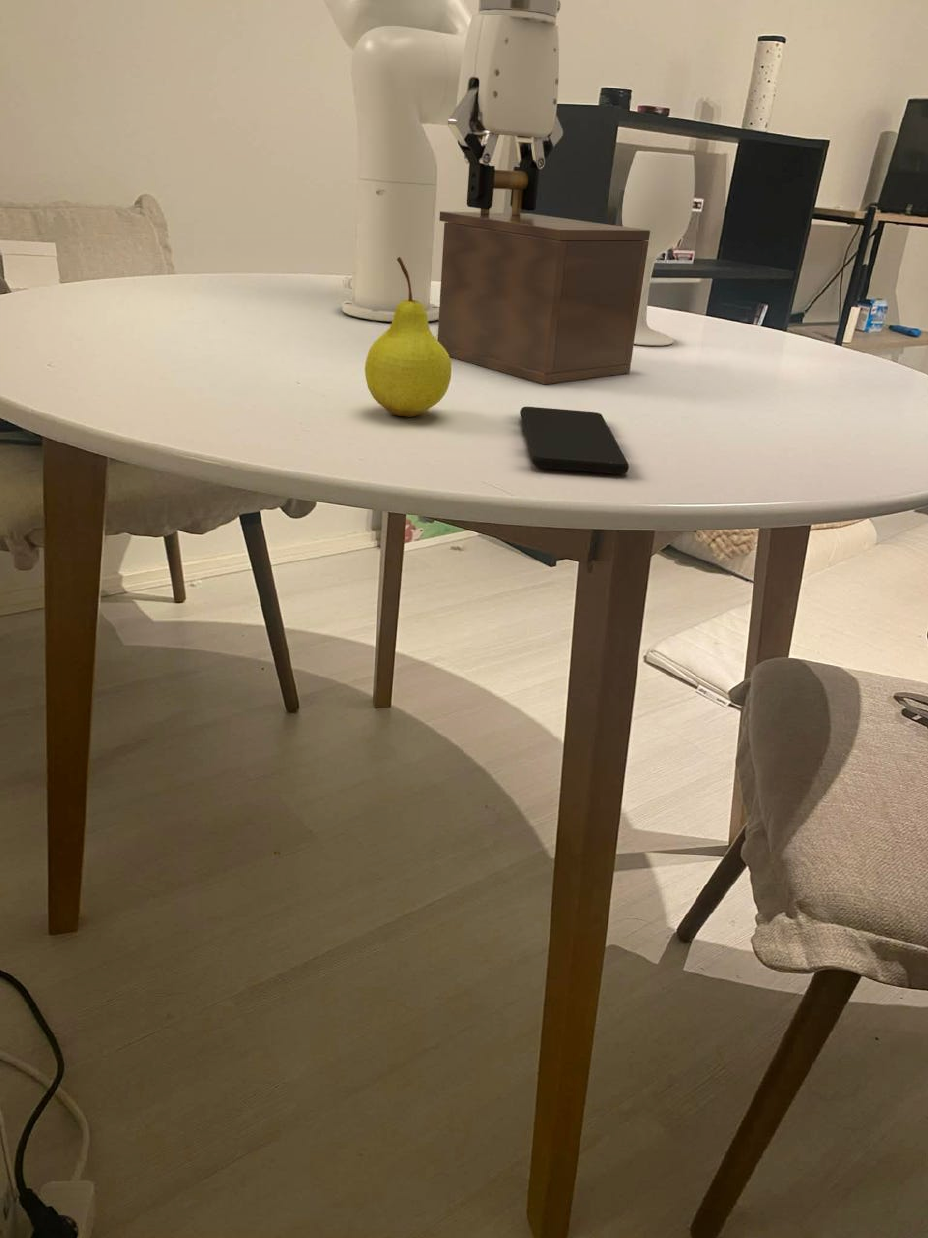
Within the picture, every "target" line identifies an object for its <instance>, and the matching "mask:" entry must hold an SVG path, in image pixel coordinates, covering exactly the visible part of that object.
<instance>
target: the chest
mask: <svg viewBox="0 0 928 1238" xmlns="http://www.w3.org/2000/svg"><path fill="white" fill-rule="evenodd" d="M443 223H444V224H443V237H442V238H443V239H442V255H441V271H440V272H441V273H440V286H439V287H440V289H439V303H438V304H439V305H438V307H439V319H438V322H437V338H436V339H437V340H438V342H439V343H440V344H441V345H442V346H443V347H444V348H445V350H446V351H447V353H448V354H449V357H450V358H453V359H456V360H460V361H463V362H466V363H470V364H474V365H476V366H479V367H483V368H487V369H490V370H493V371H496V372H500V373H503V374H507V375H511V376H514V377H517V378H521V379H524V380H526V381H527V380H528V381H530V382H535V383H537V384H541V385H550V384H551V385H552V384H558V383H565V382H573V381H574V382H575V381H580V380H588V379H594V378H595V379H596V378H603V377H610V376H617V375H618V376H619V375H625V374H630V372H631V364H632V358H633V352H634V346H635V344H634V339H635V332H636V325H637V318H638V312H639V305H640V298H641V291H642V284H643V277H644V270H645V264H646V257H647V250H648V243H649V241H646V240H555V239H548V238H542V237H536V236H530V235H524V234H517V233H511V232H505V231H499V230H493V229H487V228H480V227H474V226H468V225H462V224H456V223H449V222H443Z"/></svg>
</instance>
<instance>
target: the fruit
mask: <svg viewBox="0 0 928 1238" xmlns="http://www.w3.org/2000/svg"><path fill="white" fill-rule="evenodd" d="M397 261H398V262H399V264H400V266H401V268H402V271H403V273H404V275H405V277H406V279H407V282H408V289H409V300H404V301H401V302H400V303H399V304H398V306H397V308H396V310H395V313H394V318H393V321H392V322H391V324H390V326H389V328H387V330H386V331H384V332H383V333H382V334H381V335H380V336H379V337H378V338H377V339H376V340H375V341H374V342H373V343H372V344H371V346H370V347H369V350H368V353H367V357H366V359H365V365H364V366H365V367H364V373H365V374H364V376H365V381H366V384H367V389H368V390H369V392H370V395H371V396H372V398H373V399H374V400H375V401H376V402H377V404H378V405H380V407H382V408H383V409H384V410H385V411H387V412H388V413H390V414H392V415H394V416H397V417H406V418H413V417H416V416H419V415H421V414H422V413H424V412H426V411H427V410H429V409H431V408H433V407H434V406H435V405H437V404H438V403H439V402H440V401H441V400H442V398H443V397H444V396H445V395H446V393H447V390H448V389H449V387H450V383H451V379H452V360H451V357H449V354H448V353H447V351H446V350H445V348H444V347H443V346H442V345H441V344H440V343H439V342H438V340H437V338H436V337H435V336H434V335H433V333H432V332H431V328H430V324H429V321H428V318H427V313H426V311H425V309H424V307H423V305H422V304H421V303H420V302H418V301H416V300H412V292H411V285H410V279H409V275H408V272H407V270H406V268H405V266H404V264H403V262H402V260H401V258H400V257H398V259H397Z"/></svg>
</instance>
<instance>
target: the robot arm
mask: <svg viewBox="0 0 928 1238" xmlns="http://www.w3.org/2000/svg"><path fill="white" fill-rule="evenodd" d="M323 2H324V4H325V6H326V8H327V10H328V13H329V14H330V16H331V18H332V20H333V22H334V25H335V26H336V28H337V30H338V32H339V34H340V36H341V38H342V39H343V41H344V43H345V44H346V45H347V46H348V48H349V49H351V50H352V51H353V52H352V57H351V62H350V63H351V66H350V67H351V69H350V70H351V72H350V73H351V84H352V91H353V98H354V106H355V107H354V108H355V116H356V128H357V129H356V130H357V186H356V189H357V190H356V191H357V192H356V229H355V230H356V232H355V234H356V235H355V236H356V237H355V270H354V271H353V272H351V277H349V276H347V277H344V279H343V281H342V284H343V285H342V286H343V287H344V288H346V289H350V290H351V298H349V299H346V300H344V301H342V305H341V307H342V308H341V311H342V312H343V313H344V314H346V315H348V316H351V317H354V318H359V319H364V320H371V321H378V322H390V323H392V321H393V318H394V313H395V310H396V308H397V306H398V304H399V303H400V302H401V301H404V300H409V289H408V282H407V279H406V277H405V275H404V273H403V271H402V268H401V266H400V264H399V262H398V261H397V259H398V257H400V258H401V260H402V262H403V264H404V266H405V268H406V270H407V272H408V275H409V279H410V285H411V292H412V300H416V301H418V302H420V303H421V304H422V305H423V307H424V309H425V311H426V313H427V318H428V322H434V321H437V320H438V321H439V305H435V304H433V303H431V291H432V276H433V275H432V273H433V256H434V238H435V237H434V236H435V218H436V202H437V186H438V185H437V181H438V180H437V178H438V165H437V159H436V155H435V152H434V148H433V146H432V144H431V141H430V139H429V137H428V135H427V133H426V131H425V128H424V127H423V125H427V124H430V125H441V126H447V127H448V128H449V130H450V131H451V133H452V135H453V136H454V137H455V140H456V139H457V144H458V146H459V148H460V150H461V152H462V153H463V154H464V155H463V161H464V163H466V164H467V165H468V177H467V191H466V206H467V207H468V208H473V209H480V210H481V209H490V210H491V209H492V207H493V200H494V189H493V188H494V176H495V170H496V167H495V166H496V165H490V164H491V162H492V159H493V156H494V154H495V150H496V147H497V143H498V140H499V137H500V136H512V137H514V140H515V149H516V156H517V163H518V166H513V169H512V171H523V172H525V173H526V174H527V176H528V185H527V187H526V188H525V189H524V190H523V193H522V204H521V210H522V211H523V210H524V211H535V210H536V207H537V197H538V187H539V177H540V170H542V169H543V168H544V167H545V164H546V159H547V158H548V156H549V155H550V154H551V153H552V151H553V148H554V147H555V146H556V145H557V144H558V142H560V140H561V139H562V137H563V135H564V129H563V127H562V124H561V123H560V120H559V117H558V115H557V107H558V97H559V96H558V95H559V82H560V81H559V78H560V41H559V40H560V39H559V27H558V25H557V16H558V15H557V14H558V13H559V12H560V10H561V1H560V0H478V13H477V14H476V15H475V14H474V15H473V13H472V12H471V10H470V7H469V5H468V4H467V3H466V1H465V0H323ZM482 141H483V144H482ZM529 144H530V148H529ZM510 191H511V193H510V204H509V205H510V207H511V208H512V204H513V192H514V190H510Z"/></svg>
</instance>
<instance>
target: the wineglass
mask: <svg viewBox="0 0 928 1238" xmlns="http://www.w3.org/2000/svg"><path fill="white" fill-rule="evenodd" d="M695 191H696V165H695V156H694V155H692V154H683V153H682V154H681V153H669V152H668V153H667V152H657V151H645V150H637V151H636V152H635V154H634V157H633V160H632V163H631V166H630V169H629V172H628V176H627V179H626V183H625V187H624V193H623V197H622V209H621V223H622V227H628V228H635V229H643V230H650V236H649V240H646V241H649V243H648V250H647V257H646V264H645V270H644V277H643V284H642V291H641V298H640V305H639V312H638V318H637V325H636V332H635V339H634V345H637V346H649V347H650V346H652V347H655V346H656V347H657V346H658V347H659V346H668V345H673V343H674V340H673V338H671V337H670V336H669V335H667V334H665V333H663V332H661V331H658V330H655V329H652V328H650V326H649V325H648V321H647V319H648V317H647V316H648V315H647V313H648V303H649V294H650V286H651V282H652V281H651V280H652V276H653V275H652V274H653V271H654V267H655V264H656V261H657V259H658V257H659V256H661V255H662V254H664V253H665V252H667V251H669V250H670V249H672V248H673V247H674V246H675V245H677V244H678V243H679V242H680V241H681V240H682V238H683V237H684V236H685V234H686V233H687V230H688V228H689V225H690V222H691V218H692V214H693V208H694V204H695V203H694V201H695V193H696V192H695Z"/></svg>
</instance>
